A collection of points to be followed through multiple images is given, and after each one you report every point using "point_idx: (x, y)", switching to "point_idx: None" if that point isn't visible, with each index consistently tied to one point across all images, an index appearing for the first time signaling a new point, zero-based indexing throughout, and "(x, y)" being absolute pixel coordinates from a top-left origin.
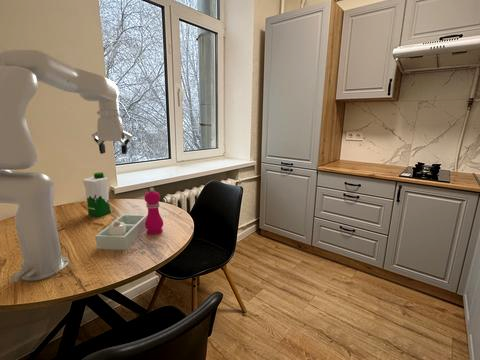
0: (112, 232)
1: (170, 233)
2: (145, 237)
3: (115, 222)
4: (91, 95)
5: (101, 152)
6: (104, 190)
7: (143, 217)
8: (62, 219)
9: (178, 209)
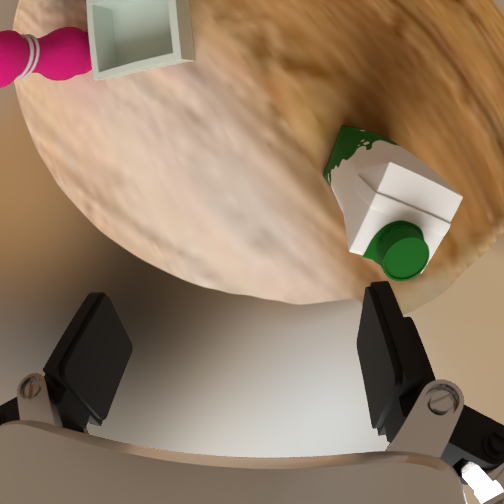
0: None
1: None
2: None
3: None
4: None
5: (376, 293)
6: (344, 187)
7: (95, 59)
8: (447, 107)
9: (109, 236)
